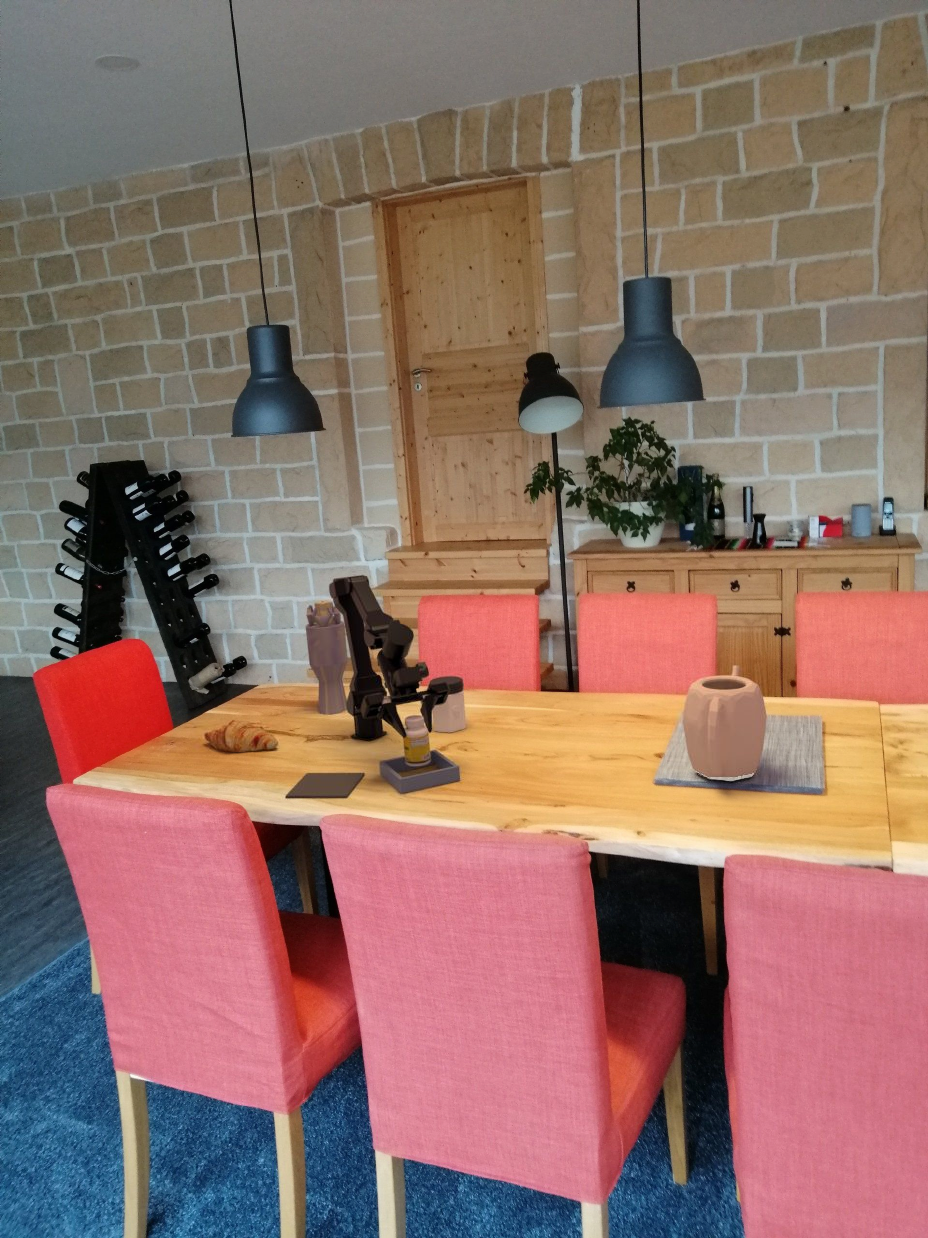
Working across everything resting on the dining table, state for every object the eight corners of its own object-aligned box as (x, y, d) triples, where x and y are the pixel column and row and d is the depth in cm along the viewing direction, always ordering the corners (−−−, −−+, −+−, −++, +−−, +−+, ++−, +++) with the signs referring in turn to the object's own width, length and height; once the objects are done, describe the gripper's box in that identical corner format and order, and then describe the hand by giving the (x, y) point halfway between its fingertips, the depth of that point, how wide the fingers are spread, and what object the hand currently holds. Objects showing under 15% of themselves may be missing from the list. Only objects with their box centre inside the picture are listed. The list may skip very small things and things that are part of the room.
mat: (307, 775, 202) (306, 773, 202) (364, 774, 200) (364, 772, 200) (285, 798, 189) (285, 795, 189) (346, 798, 187) (346, 795, 187)
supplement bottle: (404, 759, 198) (401, 715, 196) (430, 757, 198) (426, 713, 196) (405, 768, 192) (401, 723, 190) (431, 765, 193) (428, 720, 191)
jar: (443, 735, 223) (439, 687, 220) (425, 728, 229) (421, 681, 227) (474, 727, 227) (470, 679, 225) (456, 720, 234) (452, 674, 232)
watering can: (776, 752, 195) (775, 665, 192) (756, 799, 172) (755, 701, 168) (701, 746, 202) (699, 662, 198) (672, 791, 179) (669, 696, 175)
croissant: (286, 760, 224) (292, 727, 226) (263, 753, 215) (269, 719, 217) (214, 753, 232) (220, 721, 234) (189, 746, 223) (195, 713, 225)
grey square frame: (380, 774, 199) (379, 761, 198) (436, 762, 204) (435, 749, 203) (401, 793, 187) (400, 779, 187) (460, 780, 192) (459, 766, 192)
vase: (350, 713, 247) (339, 602, 242) (311, 716, 247) (300, 604, 241) (354, 702, 257) (343, 595, 252) (316, 705, 257) (305, 598, 252)
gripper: (359, 657, 191) (382, 723, 183) (443, 644, 198) (468, 706, 190) (351, 686, 199) (372, 750, 191) (432, 672, 206) (455, 733, 199)
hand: (417, 734), depth 193 cm, fingers closed on supplement bottle, 5 cm apart
